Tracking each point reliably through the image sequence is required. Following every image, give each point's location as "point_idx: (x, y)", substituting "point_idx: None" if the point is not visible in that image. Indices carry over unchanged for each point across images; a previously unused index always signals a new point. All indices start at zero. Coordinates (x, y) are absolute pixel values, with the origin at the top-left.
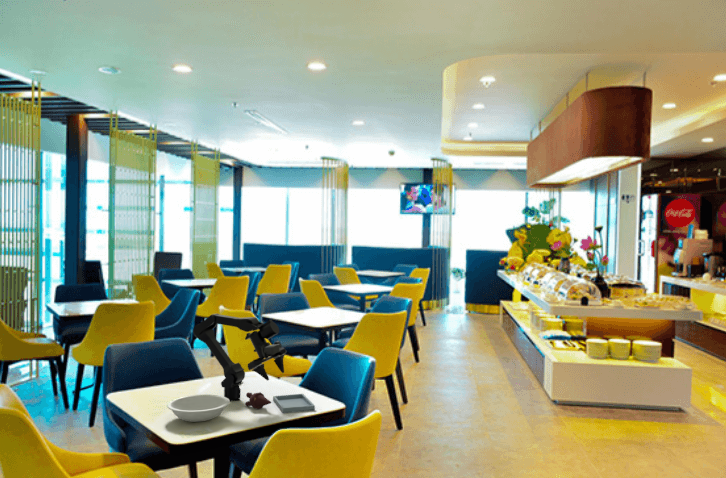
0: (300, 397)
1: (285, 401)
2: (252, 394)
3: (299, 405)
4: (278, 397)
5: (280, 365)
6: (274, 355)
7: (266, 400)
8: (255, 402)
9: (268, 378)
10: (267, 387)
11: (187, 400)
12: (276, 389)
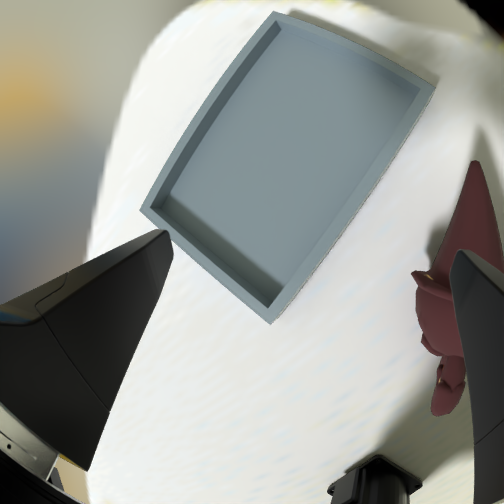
0: (164, 211)
1: (265, 227)
2: (451, 370)
3: (278, 106)
4: (254, 293)
5: (107, 307)
6: (19, 500)
7: (487, 195)
8: None
9: (471, 254)
10: (143, 444)
11: None
12: (136, 403)
